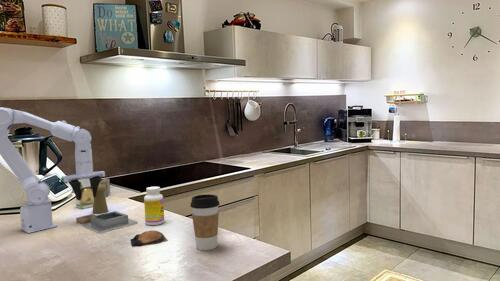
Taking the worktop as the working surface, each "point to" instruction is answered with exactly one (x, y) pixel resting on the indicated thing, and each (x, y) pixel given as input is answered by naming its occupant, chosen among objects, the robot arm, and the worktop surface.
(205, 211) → the coffee cup
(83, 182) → the syrup box
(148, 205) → the supplement bottle
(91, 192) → the slotted brass cylinder
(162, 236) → the bread roll
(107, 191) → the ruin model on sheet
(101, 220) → the grey square tray
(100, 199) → the cork
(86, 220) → the stand
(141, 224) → the worktop surface
